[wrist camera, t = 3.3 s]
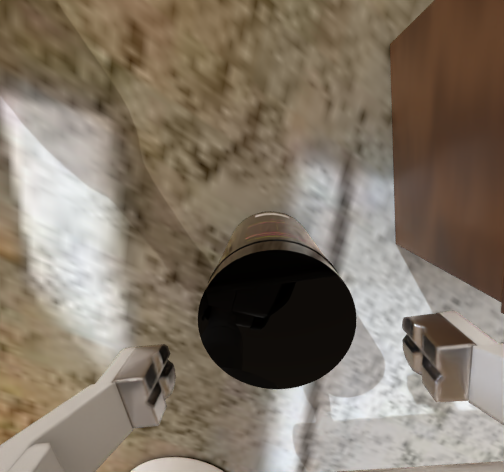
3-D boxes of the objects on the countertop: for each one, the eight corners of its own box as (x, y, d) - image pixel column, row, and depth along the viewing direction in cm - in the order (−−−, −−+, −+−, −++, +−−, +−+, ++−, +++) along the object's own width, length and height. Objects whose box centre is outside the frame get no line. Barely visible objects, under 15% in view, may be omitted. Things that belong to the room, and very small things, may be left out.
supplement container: (232, 290, 22) (207, 392, 12) (223, 212, 20) (185, 255, 10) (312, 285, 22) (355, 386, 11) (309, 205, 20) (358, 242, 10)
